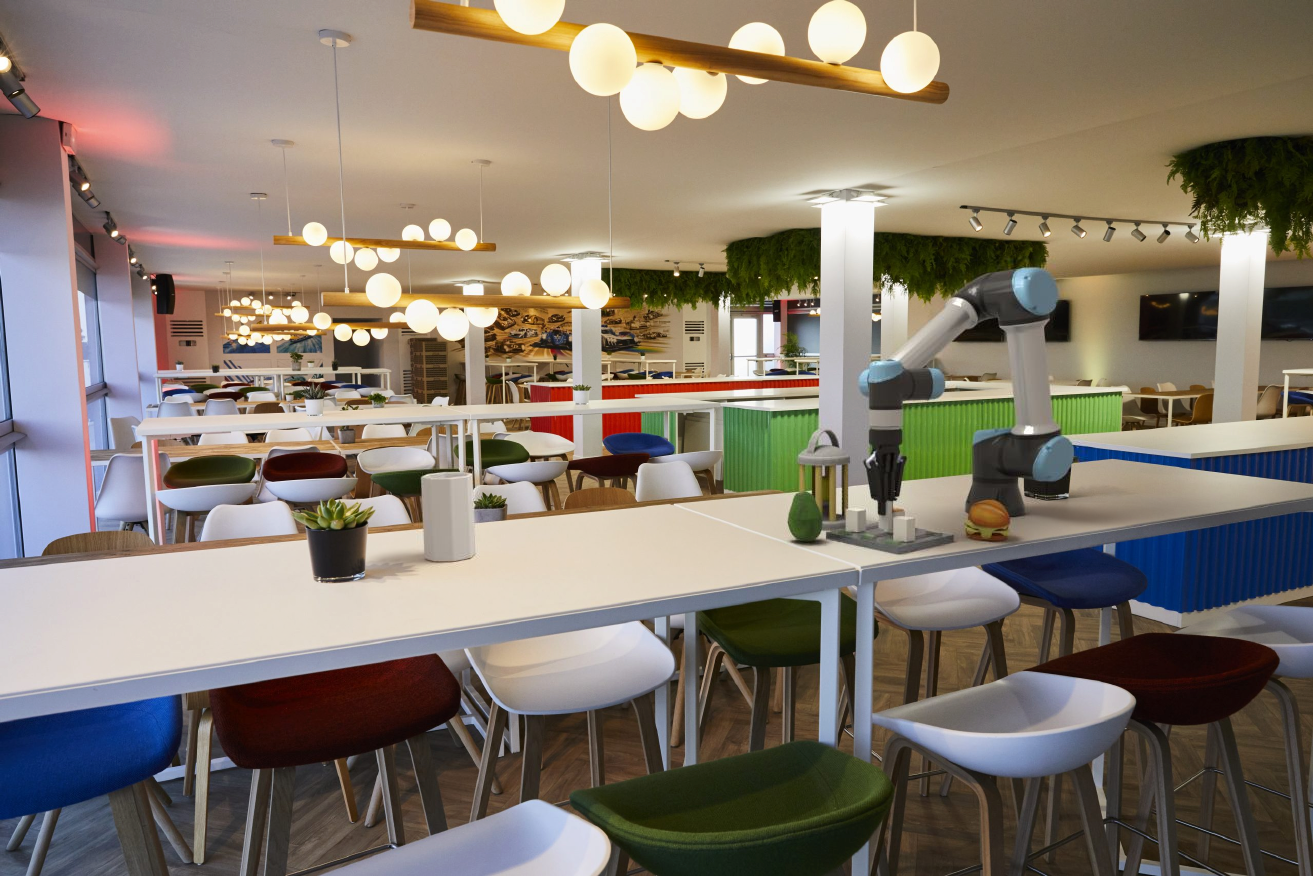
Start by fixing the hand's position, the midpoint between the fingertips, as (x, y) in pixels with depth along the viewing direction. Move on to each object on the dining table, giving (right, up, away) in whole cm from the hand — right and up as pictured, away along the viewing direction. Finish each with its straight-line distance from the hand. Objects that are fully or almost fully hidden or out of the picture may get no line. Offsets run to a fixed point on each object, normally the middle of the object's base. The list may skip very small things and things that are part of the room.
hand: (885, 528), depth 192 cm
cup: (-100, -6, -7) cm, 100 cm away
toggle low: (-6, -1, +5) cm, 8 cm away
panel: (+1, -3, +1) cm, 3 cm away
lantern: (-10, -2, +21) cm, 23 cm away
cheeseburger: (+25, -3, +1) cm, 25 cm away
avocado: (-19, -3, +1) cm, 19 cm away
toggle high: (+2, -2, -7) cm, 7 cm away
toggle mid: (+3, -1, +2) cm, 4 cm away
